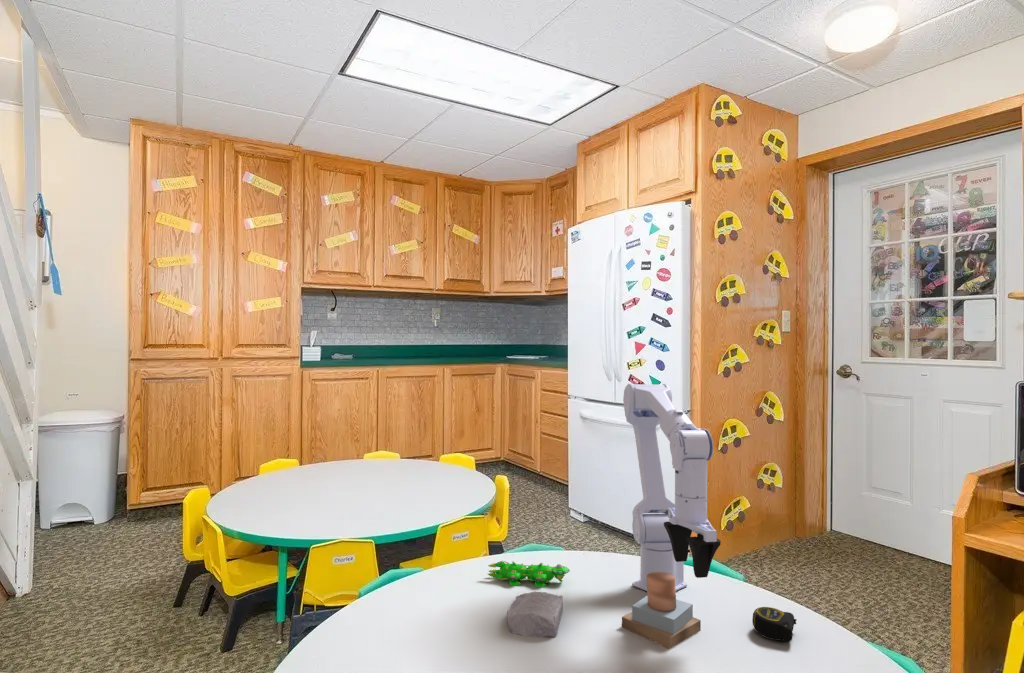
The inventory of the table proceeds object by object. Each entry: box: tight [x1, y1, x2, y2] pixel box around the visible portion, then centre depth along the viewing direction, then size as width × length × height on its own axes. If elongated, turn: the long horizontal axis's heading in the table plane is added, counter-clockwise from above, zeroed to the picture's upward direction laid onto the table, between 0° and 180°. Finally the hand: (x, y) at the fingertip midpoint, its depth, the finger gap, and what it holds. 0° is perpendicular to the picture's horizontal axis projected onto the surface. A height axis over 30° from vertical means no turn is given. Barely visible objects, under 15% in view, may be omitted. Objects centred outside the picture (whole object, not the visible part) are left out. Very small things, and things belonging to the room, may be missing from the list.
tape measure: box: [752, 606, 798, 642], centre depth 100 cm, size 7×7×4 cm
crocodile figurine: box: [487, 560, 571, 588], centre depth 122 cm, size 7×18×4 cm, turn 84°
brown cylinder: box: [646, 572, 677, 611], centre depth 101 cm, size 5×5×5 cm
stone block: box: [507, 591, 564, 638], centre depth 104 cm, size 12×5×10 cm
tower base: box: [621, 611, 702, 650], centre depth 102 cm, size 10×10×2 cm
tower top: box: [631, 595, 694, 634], centre depth 102 cm, size 8×8×2 cm
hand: (690, 568), depth 103 cm, fingers open, 7 cm apart
